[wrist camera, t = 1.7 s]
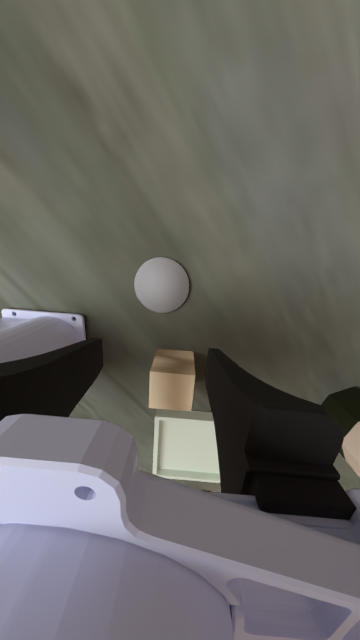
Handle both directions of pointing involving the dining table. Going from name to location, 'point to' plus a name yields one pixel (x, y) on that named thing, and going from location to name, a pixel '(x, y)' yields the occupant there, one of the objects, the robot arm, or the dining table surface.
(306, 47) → the dining table surface
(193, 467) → the tray
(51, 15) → the dining table surface
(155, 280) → the pad
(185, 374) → the block
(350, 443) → the wine bottle
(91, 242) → the dining table surface
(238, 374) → the robot arm
